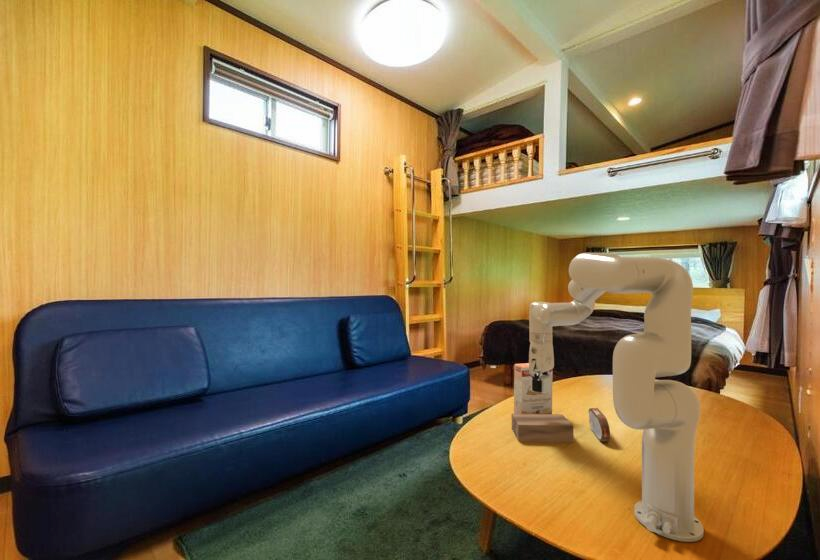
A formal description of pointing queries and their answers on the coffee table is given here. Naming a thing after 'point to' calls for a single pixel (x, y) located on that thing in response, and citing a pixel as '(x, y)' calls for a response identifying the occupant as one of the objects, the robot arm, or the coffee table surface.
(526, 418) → the walnut block
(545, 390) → the white cube
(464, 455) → the coffee table surface
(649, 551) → the coffee table surface
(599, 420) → the tin
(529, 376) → the cracker box
